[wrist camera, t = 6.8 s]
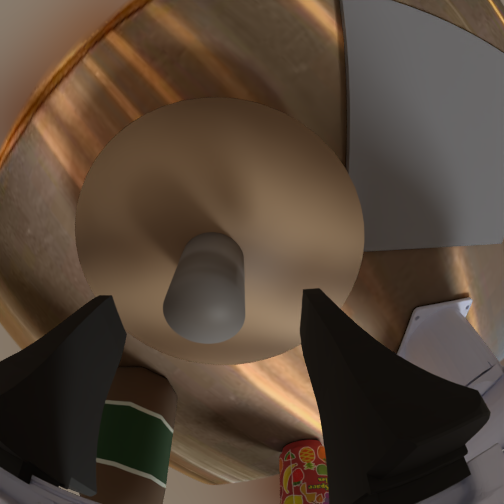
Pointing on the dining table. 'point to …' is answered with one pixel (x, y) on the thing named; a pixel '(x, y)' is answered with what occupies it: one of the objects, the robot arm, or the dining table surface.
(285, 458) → the smoothie
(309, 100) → the dining table surface
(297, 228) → the lid
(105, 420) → the beer bottle
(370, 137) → the mat
